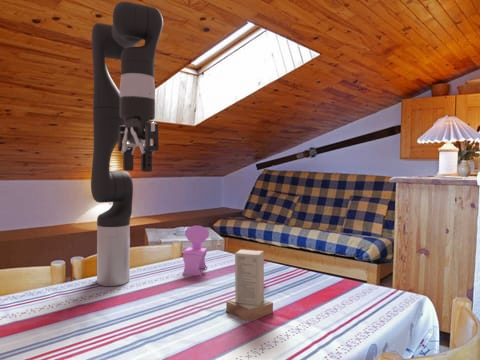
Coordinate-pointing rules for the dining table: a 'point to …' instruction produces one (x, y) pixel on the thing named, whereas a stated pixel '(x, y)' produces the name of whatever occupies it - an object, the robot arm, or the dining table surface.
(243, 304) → the wooden framed mirror
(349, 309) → the dining table surface
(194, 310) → the dining table surface
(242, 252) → the skincare box
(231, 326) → the dining table surface
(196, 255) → the toy chair
